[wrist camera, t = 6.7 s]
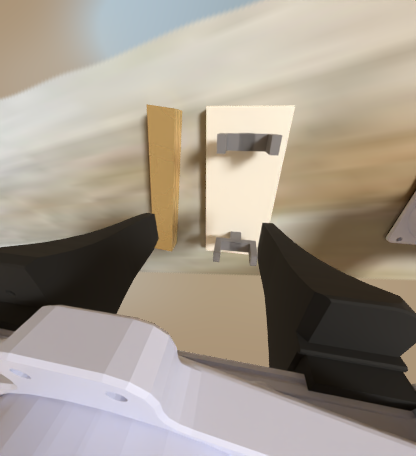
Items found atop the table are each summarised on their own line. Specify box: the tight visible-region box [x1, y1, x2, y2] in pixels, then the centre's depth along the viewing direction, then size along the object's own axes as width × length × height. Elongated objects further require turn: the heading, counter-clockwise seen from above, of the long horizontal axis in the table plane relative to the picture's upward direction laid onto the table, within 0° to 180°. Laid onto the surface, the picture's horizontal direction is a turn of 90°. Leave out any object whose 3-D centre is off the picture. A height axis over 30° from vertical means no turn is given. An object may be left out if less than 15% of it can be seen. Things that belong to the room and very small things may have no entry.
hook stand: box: [206, 106, 295, 266], centre depth 16 cm, size 7×15×5 cm, turn 0°
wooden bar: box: [147, 105, 182, 251], centre depth 19 cm, size 2×15×2 cm, turn 173°
